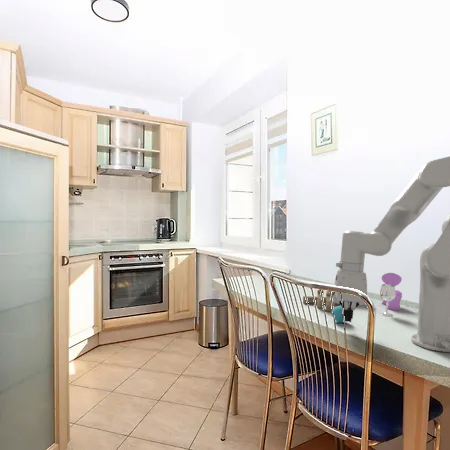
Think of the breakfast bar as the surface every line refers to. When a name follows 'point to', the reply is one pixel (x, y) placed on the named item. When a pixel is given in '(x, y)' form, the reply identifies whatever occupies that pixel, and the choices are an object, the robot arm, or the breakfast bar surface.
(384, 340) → the breakfast bar surface
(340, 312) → the ball
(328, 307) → the front pin
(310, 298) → the back rail
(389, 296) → the wineglass
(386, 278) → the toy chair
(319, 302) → the rear left pin
